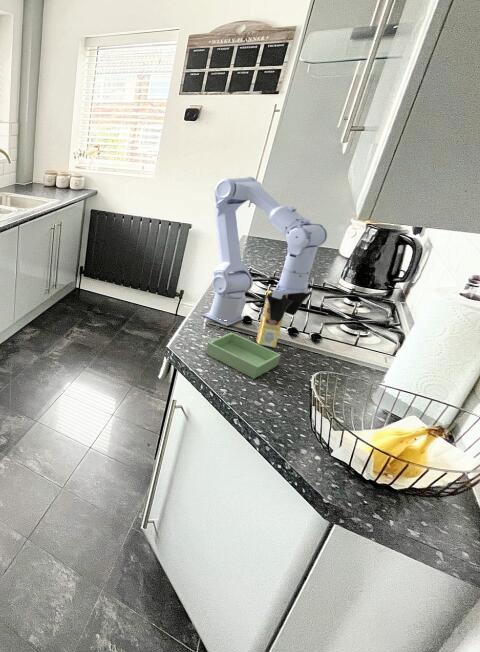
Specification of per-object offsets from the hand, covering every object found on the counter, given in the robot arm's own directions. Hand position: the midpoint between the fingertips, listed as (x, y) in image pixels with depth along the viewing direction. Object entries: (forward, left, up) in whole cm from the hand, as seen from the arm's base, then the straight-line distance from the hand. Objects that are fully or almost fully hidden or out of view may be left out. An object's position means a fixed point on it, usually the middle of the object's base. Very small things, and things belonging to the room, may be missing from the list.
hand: (282, 316), depth 115 cm
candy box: (+3, -1, -9) cm, 9 cm away
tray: (+13, -1, -10) cm, 17 cm away
